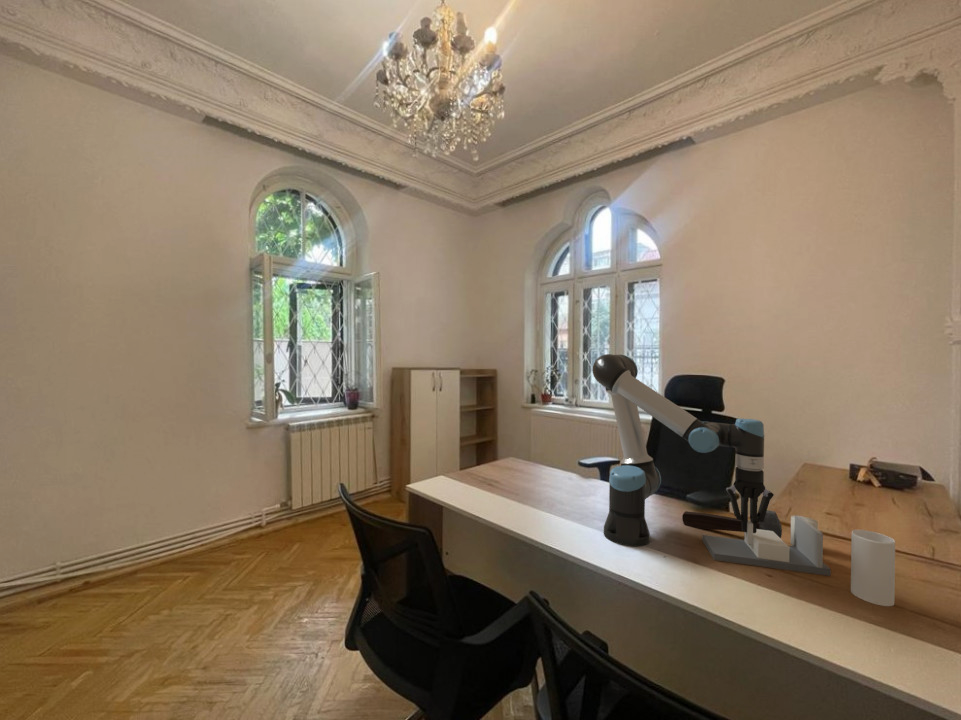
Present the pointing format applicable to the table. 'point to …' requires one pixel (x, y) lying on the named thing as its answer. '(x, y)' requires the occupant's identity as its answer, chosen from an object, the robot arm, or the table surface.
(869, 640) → the table surface
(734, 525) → the hammer
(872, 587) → the cup
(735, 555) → the grey base with uprights
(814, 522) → the cream white shapes
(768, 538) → the carton
